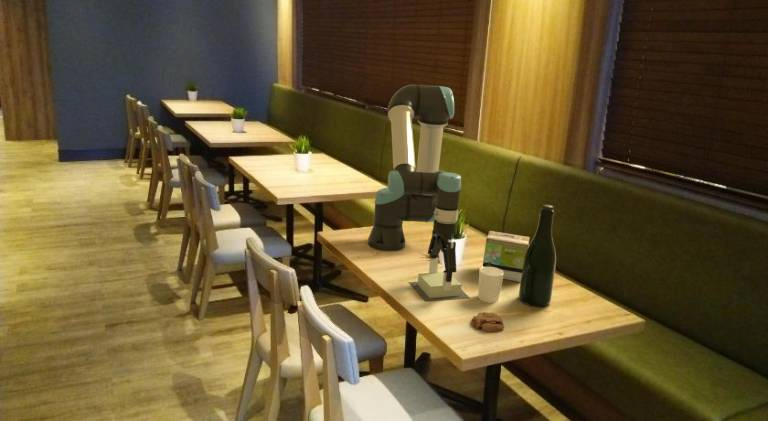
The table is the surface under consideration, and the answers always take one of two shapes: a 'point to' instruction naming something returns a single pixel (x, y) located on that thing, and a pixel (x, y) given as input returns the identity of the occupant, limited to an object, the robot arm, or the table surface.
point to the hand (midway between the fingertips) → (439, 283)
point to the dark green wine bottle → (539, 263)
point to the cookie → (488, 322)
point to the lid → (437, 285)
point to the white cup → (489, 284)
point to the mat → (427, 299)
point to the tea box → (506, 253)
